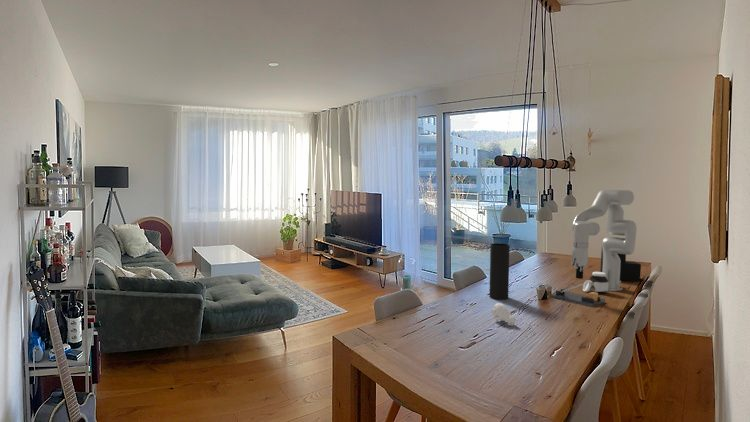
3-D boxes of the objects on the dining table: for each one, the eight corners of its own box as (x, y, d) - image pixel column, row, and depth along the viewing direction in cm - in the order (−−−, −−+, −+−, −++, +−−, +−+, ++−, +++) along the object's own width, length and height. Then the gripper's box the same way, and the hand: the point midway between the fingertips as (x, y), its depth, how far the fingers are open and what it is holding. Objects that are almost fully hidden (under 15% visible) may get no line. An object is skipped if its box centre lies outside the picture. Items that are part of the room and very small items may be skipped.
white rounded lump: (500, 301, 217) (520, 309, 207) (498, 317, 219) (518, 327, 209) (491, 302, 214) (510, 311, 204) (489, 320, 215) (509, 329, 205)
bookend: (636, 278, 305) (637, 243, 303) (643, 281, 294) (645, 245, 292) (599, 277, 308) (601, 242, 306) (605, 280, 297) (607, 245, 295)
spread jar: (610, 293, 264) (611, 274, 263) (595, 295, 260) (596, 275, 259) (593, 289, 275) (594, 270, 274) (579, 290, 271) (579, 271, 270)
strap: (561, 293, 260) (560, 291, 260) (583, 284, 250) (582, 283, 250) (558, 294, 258) (557, 292, 258) (580, 285, 247) (579, 284, 248)
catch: (588, 298, 249) (588, 291, 248) (597, 300, 245) (598, 292, 244) (584, 299, 246) (584, 292, 245) (593, 301, 242) (593, 294, 241)
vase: (508, 300, 250) (510, 246, 247) (489, 299, 252) (491, 245, 249) (507, 295, 260) (508, 243, 258) (489, 294, 262) (490, 243, 260)
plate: (563, 293, 265) (563, 287, 265) (605, 302, 246) (605, 296, 246) (550, 297, 256) (550, 291, 256) (592, 307, 237) (592, 300, 237)
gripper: (580, 243, 256) (579, 275, 257) (567, 245, 246) (565, 278, 248) (594, 244, 250) (592, 277, 251) (580, 247, 240) (579, 281, 242)
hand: (579, 278), depth 249 cm, fingers closed
